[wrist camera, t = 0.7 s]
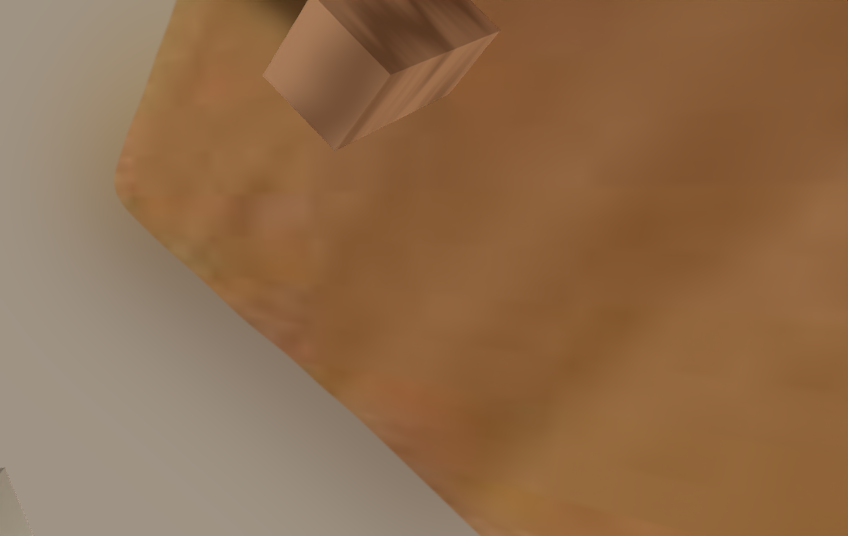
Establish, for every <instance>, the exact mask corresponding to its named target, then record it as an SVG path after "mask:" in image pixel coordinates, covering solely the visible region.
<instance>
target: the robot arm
mask: <svg viewBox="0 0 848 536" xmlns="http://www.w3.org/2000/svg"><path fill="white" fill-rule="evenodd" d="M0 536H34V535H33V533H32V530H31V528H30V526H29V523H28V521H27V519H26V516H25V514H24V512H23V509H22V507H21V505H20V502H19V500H18V498H17V496H16V493H15V491H14V488H13V486H12V484H11V481H10V479H9V477H8V474H7V472H6V470H5V468H0Z"/></svg>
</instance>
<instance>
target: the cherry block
mask: <svg viewBox="0 0 848 536" xmlns="http://www.w3.org/2000/svg"><path fill="white" fill-rule="evenodd" d="M499 32H500V30H499V29H498V28H497V27H496V26H495V25H494V24H493V23H492V22H491V21H490V20H489V19H488V18H487V17H486V16H485V15H484V14H483V13H482V12H481V11H480V10H479V9H478V8H477V7H476V6H475V5H474V4H473V3H472V2H471V1H470V0H308V1H307V2H306V4H305V6H304V7H303V9H302V11H301V12H300V14H299V16H298V17H297V19H296V21H295V22H294V24H293V26H292V28H291V29H290V31H289V33H288V34H287V36H286V38H285V39H284V41H283V43H282V44H281V46H280V48H279V49H278V51H277V53H276V54H275V56H274V58H273V59H272V61H271V63H270V64H269V66H268V68H267V69H266V71H265V73H264V74H263V76H264V77H265V78H266V79H267V80H268V82H269V83H270V84H271V85H272V86H273V87H274V88H275V89H276V90H277V91H278V92H279V93H280V94H281V95H282V96H283V97H284V98H285V99H286V100H287V101H288V102H289V103H290V105H291V106H292V107H293V108H294V109H295V110H296V111H297V112H298V113H299V114H300V115H301V116H302V117H303V118H304V119H305V120H306V121H307V122H308V123H309V124H310V125H311V127H312V128H313V129H314V130H315V131H316V132H317V133H318V134H319V135H320V136H321V137H322V138H323V139H324V140H325V141H326V142H327V143H328V144H329V145H330V146H331V147H332V148H333V150H334V151H335V150H338V149H340V148H342V147H344V146H346V145H348V144H350V143H352V142H354V141H356V140H358V139H360V138H362V137H364V136H366V135H368V134H370V133H372V132H374V131H376V130H378V129H380V128H382V127H384V126H386V125H388V124H390V123H392V122H394V121H396V120H398V119H400V118H402V117H404V116H406V115H408V114H410V113H412V112H414V111H416V110H418V109H420V108H422V107H424V106H426V105H428V104H430V103H432V102H434V101H436V100H438V99H440V98H442V97H444V96H446V95H448V94H449V93H450V92H451V91H452V89H453V88H454V87H455V86H456V85H457V83H458V82H459V81H460V80H461V78H462V77H463V76H464V75H465V73H466V72H467V71H468V70H469V69H470V67H471V66H472V65H473V64H474V62H475V61H476V60H477V59H478V57H479V56H480V55H481V54H482V53H483V51H484V50H485V49H486V48H487V46H488V45H489V44H490V43H491V41H492V40H493V39H494V38H495V37H496V35H497V34H498V33H499Z"/></svg>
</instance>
